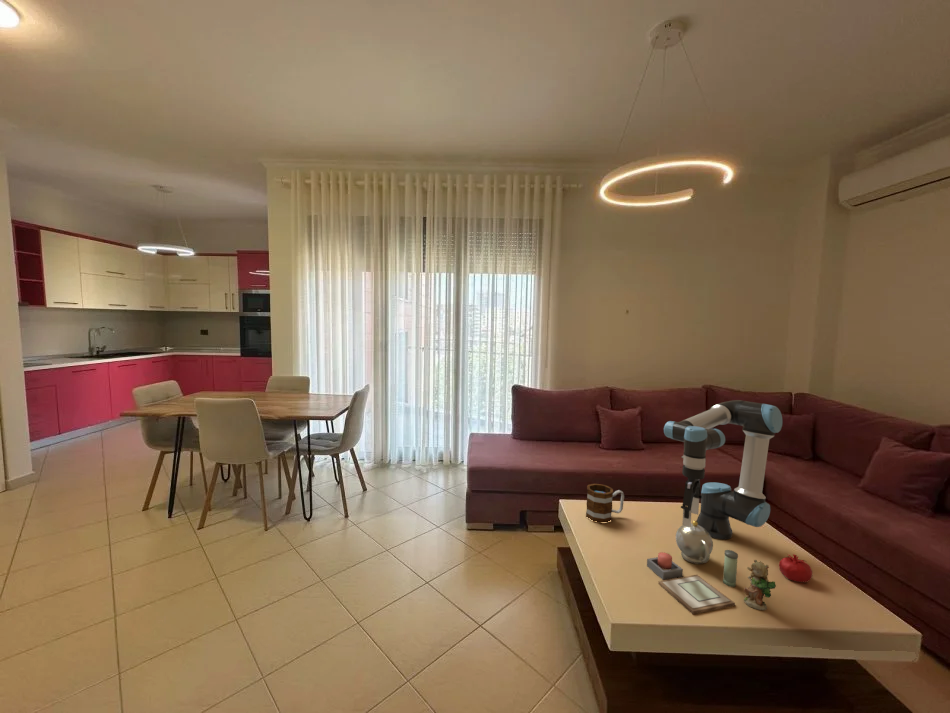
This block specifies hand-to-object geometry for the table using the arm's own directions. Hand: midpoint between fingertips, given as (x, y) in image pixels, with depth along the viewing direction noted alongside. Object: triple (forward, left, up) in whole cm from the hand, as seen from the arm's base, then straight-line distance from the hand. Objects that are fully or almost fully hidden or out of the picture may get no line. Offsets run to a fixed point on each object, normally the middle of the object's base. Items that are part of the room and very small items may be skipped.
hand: (690, 519), depth 150 cm
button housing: (+9, -2, -22) cm, 23 cm away
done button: (+9, -2, -19) cm, 21 cm away
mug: (+6, -47, -22) cm, 53 cm away
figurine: (-9, +22, -22) cm, 32 cm away
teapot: (-9, -5, -22) cm, 24 cm away
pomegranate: (-39, +13, -22) cm, 47 cm away
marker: (-10, +10, -22) cm, 26 cm away
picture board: (+8, +12, -22) cm, 26 cm away
